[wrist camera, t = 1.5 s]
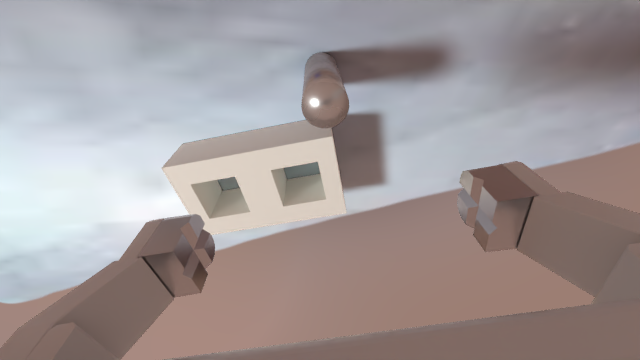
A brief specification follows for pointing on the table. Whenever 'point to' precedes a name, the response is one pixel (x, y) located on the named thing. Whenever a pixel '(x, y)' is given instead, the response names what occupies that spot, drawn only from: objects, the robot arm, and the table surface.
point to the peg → (323, 92)
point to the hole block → (258, 177)
